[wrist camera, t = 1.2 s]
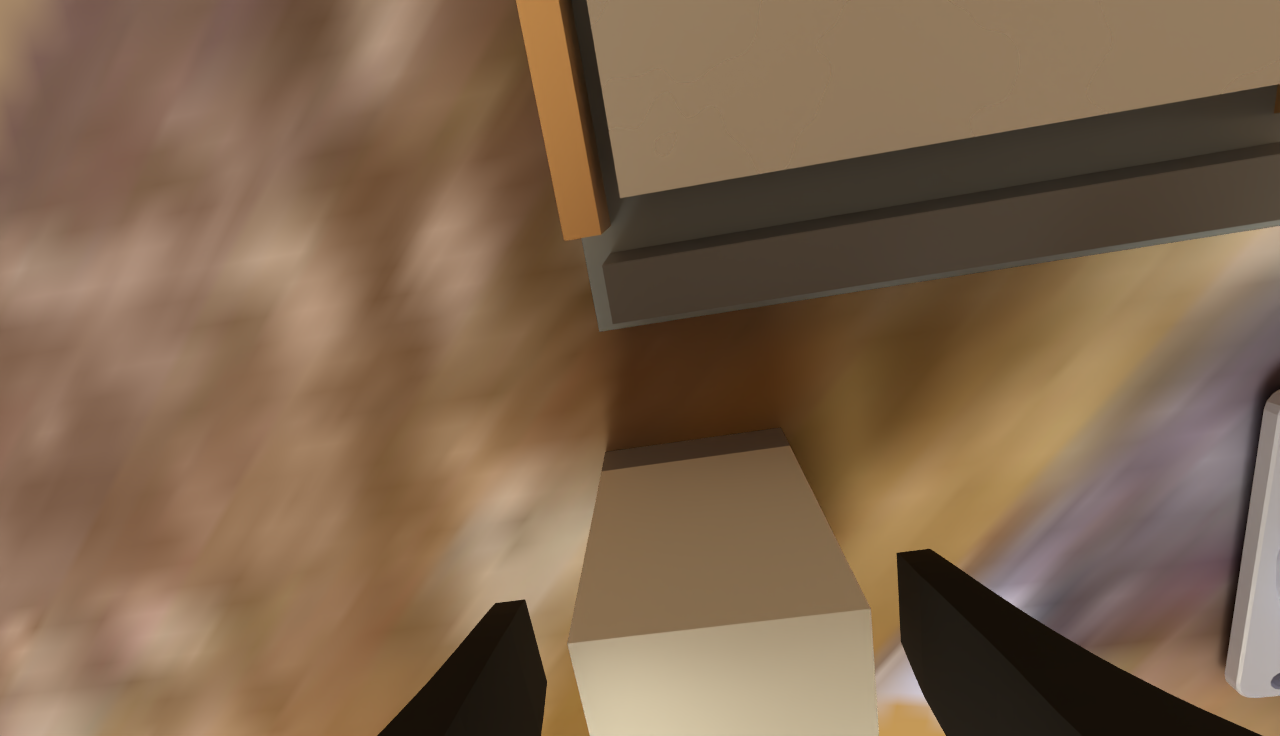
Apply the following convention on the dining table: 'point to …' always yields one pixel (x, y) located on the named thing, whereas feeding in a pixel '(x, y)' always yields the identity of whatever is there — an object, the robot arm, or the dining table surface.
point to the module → (718, 599)
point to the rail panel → (889, 196)
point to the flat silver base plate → (895, 74)
